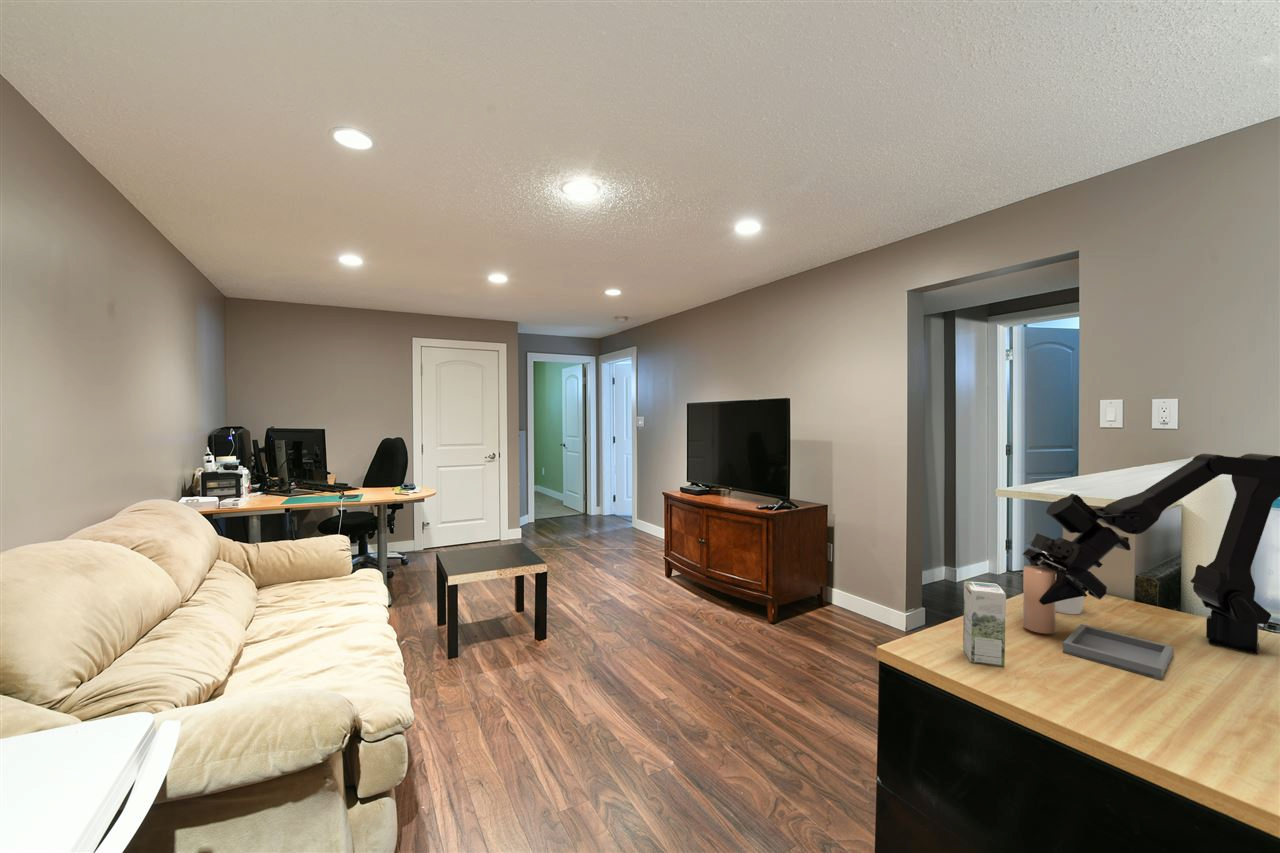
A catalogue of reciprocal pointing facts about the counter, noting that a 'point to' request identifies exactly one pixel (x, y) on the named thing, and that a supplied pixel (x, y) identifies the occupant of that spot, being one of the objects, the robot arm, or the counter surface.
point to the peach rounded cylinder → (1033, 589)
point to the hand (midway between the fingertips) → (1032, 598)
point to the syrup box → (984, 623)
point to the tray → (1119, 651)
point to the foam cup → (1069, 604)
